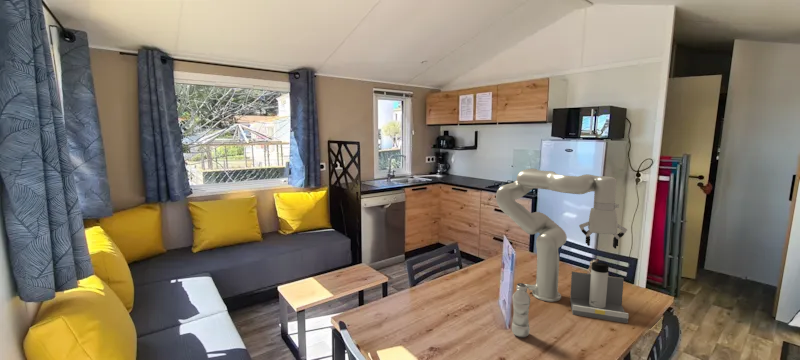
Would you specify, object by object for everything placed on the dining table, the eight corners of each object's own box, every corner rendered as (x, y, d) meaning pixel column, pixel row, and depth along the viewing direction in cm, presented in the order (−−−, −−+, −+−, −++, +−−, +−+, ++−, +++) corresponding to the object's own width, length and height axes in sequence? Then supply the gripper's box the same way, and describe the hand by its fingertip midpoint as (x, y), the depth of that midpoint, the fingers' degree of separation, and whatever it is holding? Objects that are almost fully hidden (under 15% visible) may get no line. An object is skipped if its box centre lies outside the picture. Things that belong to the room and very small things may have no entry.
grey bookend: (572, 314, 147) (574, 283, 145) (570, 300, 159) (571, 271, 157) (627, 323, 139) (630, 290, 137) (620, 308, 151) (623, 277, 150)
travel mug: (591, 310, 146) (595, 265, 143) (586, 302, 153) (589, 259, 150) (608, 311, 145) (611, 266, 142) (602, 303, 151) (605, 260, 149)
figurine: (582, 280, 180) (584, 258, 179) (592, 278, 183) (593, 256, 181) (595, 286, 174) (597, 263, 172) (604, 283, 177) (606, 260, 175)
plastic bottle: (520, 341, 128) (522, 290, 125) (507, 332, 134) (508, 283, 131) (533, 336, 131) (535, 286, 128) (519, 328, 137) (521, 280, 134)
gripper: (626, 206, 143) (623, 245, 145) (579, 203, 150) (577, 241, 152) (630, 209, 136) (627, 251, 139) (581, 206, 143) (579, 246, 145)
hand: (601, 246), depth 145 cm, fingers open, 9 cm apart
